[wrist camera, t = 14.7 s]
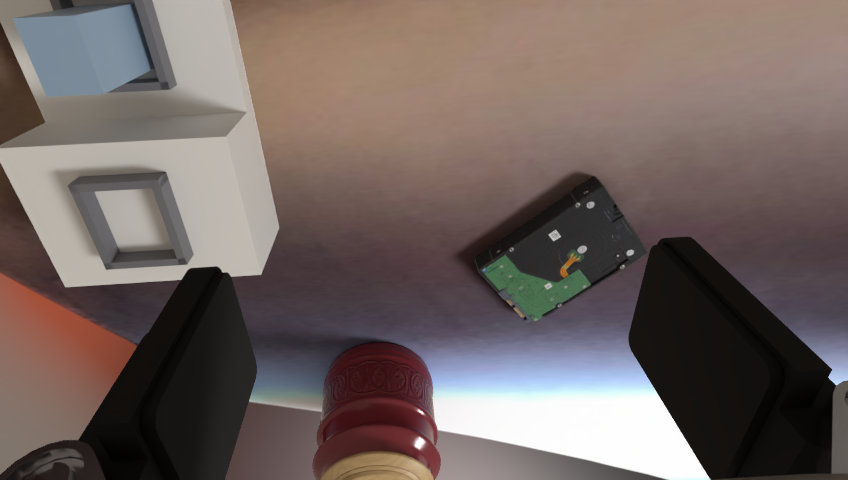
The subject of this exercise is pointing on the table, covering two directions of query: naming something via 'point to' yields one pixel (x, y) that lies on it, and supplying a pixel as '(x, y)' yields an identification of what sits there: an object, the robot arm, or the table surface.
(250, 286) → the table surface
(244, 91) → the dock
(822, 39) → the table surface
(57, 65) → the plug
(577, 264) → the disk drive
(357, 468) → the canister
